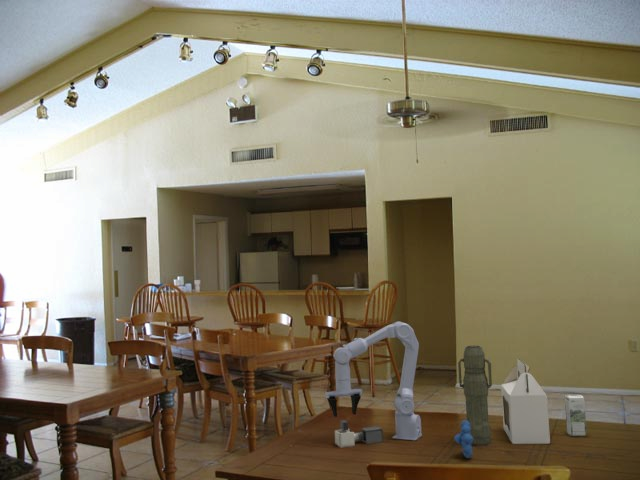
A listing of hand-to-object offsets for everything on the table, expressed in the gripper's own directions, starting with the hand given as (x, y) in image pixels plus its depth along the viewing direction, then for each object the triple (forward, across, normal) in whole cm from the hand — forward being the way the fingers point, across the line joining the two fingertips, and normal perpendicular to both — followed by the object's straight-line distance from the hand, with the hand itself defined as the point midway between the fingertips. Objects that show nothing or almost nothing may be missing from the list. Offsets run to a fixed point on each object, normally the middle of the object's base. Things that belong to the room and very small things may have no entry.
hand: (344, 415), depth 242 cm
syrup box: (+10, -81, +30) cm, 87 cm away
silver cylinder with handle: (+9, -1, +4) cm, 10 cm away
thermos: (+10, -44, +24) cm, 51 cm away
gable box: (+10, -63, +24) cm, 69 cm away
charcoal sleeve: (+10, -9, +5) cm, 14 cm away
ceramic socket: (+10, +2, +4) cm, 11 cm away
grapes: (+10, -30, +37) cm, 49 cm away
